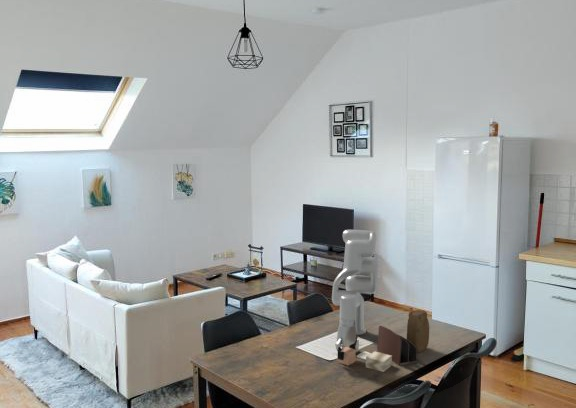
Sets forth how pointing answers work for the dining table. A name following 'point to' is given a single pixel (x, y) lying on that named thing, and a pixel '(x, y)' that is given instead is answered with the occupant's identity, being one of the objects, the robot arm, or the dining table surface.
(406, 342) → the letter holder
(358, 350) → the sage cube
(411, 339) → the block
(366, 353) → the card
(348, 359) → the terracotta cube
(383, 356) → the birch block
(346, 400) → the dining table surface
